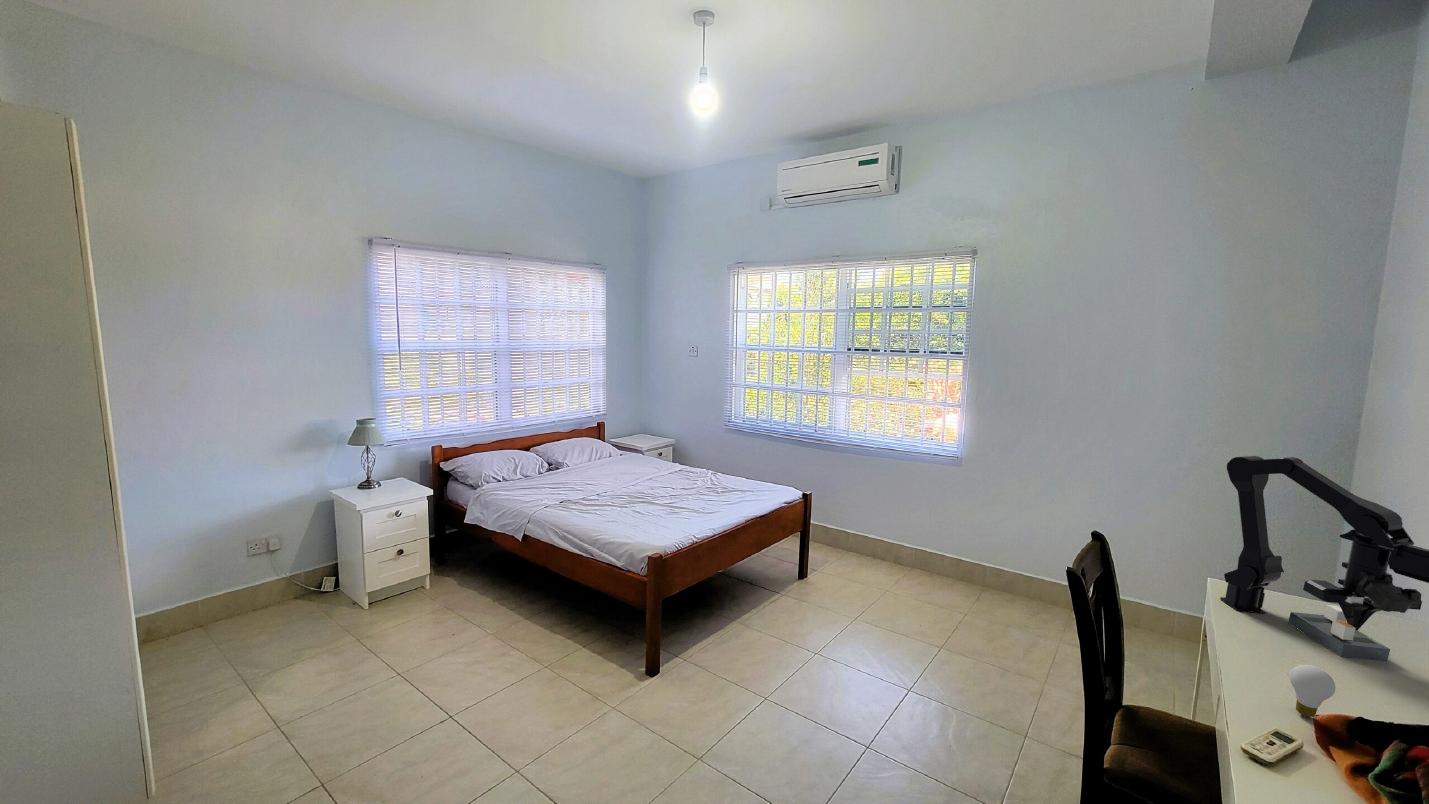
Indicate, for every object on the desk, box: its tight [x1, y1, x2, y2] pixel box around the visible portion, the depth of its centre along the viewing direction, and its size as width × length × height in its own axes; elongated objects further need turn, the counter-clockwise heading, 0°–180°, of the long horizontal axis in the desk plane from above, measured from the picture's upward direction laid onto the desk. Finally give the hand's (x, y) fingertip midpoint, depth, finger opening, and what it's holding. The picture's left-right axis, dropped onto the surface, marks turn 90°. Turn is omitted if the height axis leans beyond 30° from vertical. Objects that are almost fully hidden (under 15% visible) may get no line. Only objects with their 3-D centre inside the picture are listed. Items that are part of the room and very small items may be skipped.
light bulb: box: [1289, 664, 1336, 718], centre depth 107 cm, size 6×6×10 cm
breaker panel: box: [1288, 611, 1391, 662], centre depth 133 cm, size 9×14×3 cm, turn 172°
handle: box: [1323, 604, 1347, 623], centre depth 136 cm, size 2×3×3 cm, turn 172°
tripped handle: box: [1330, 620, 1355, 640], centre depth 129 cm, size 2×3×3 cm, turn 172°
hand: (1353, 629), depth 129 cm, fingers closed
